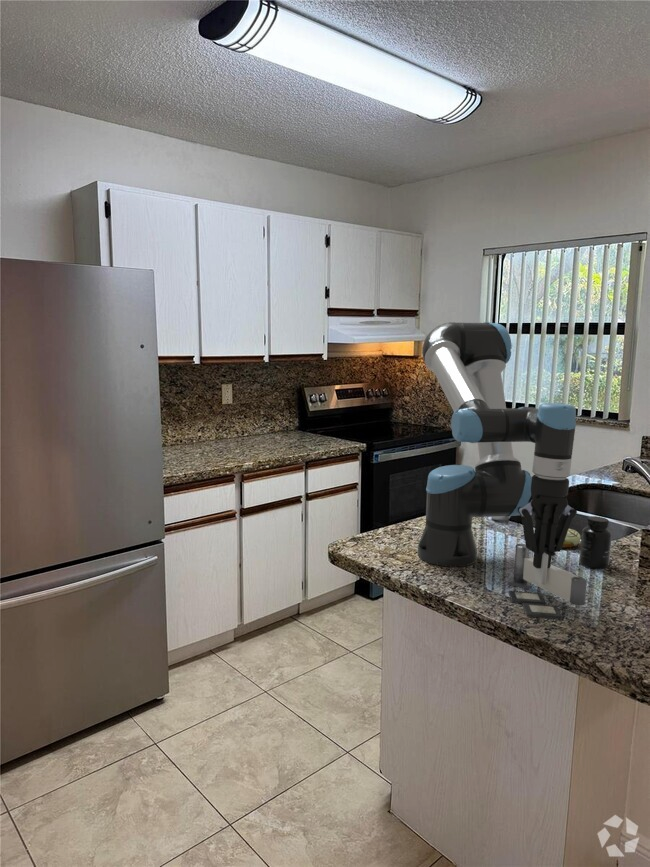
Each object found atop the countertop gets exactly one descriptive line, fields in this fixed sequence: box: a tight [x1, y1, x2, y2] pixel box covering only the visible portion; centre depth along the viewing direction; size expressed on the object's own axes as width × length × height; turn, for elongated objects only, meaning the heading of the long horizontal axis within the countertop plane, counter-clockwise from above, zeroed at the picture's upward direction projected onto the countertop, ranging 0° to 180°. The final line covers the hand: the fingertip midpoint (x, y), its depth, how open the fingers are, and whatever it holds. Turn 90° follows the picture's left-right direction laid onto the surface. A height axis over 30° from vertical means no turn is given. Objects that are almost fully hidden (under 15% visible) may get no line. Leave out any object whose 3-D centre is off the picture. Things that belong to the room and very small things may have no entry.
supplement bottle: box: [579, 515, 613, 570], centre depth 151 cm, size 7×7×12 cm
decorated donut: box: [562, 528, 582, 548], centre depth 168 cm, size 10×11×4 cm
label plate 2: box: [522, 603, 564, 620], centre depth 126 cm, size 7×5×1 cm
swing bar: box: [523, 555, 588, 607], centre depth 131 cm, size 16×3×5 cm, turn 27°
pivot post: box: [506, 543, 533, 590], centre depth 140 cm, size 5×5×9 cm
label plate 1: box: [508, 590, 547, 605], centre depth 132 cm, size 7×5×1 cm
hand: (540, 581), depth 132 cm, fingers closed
